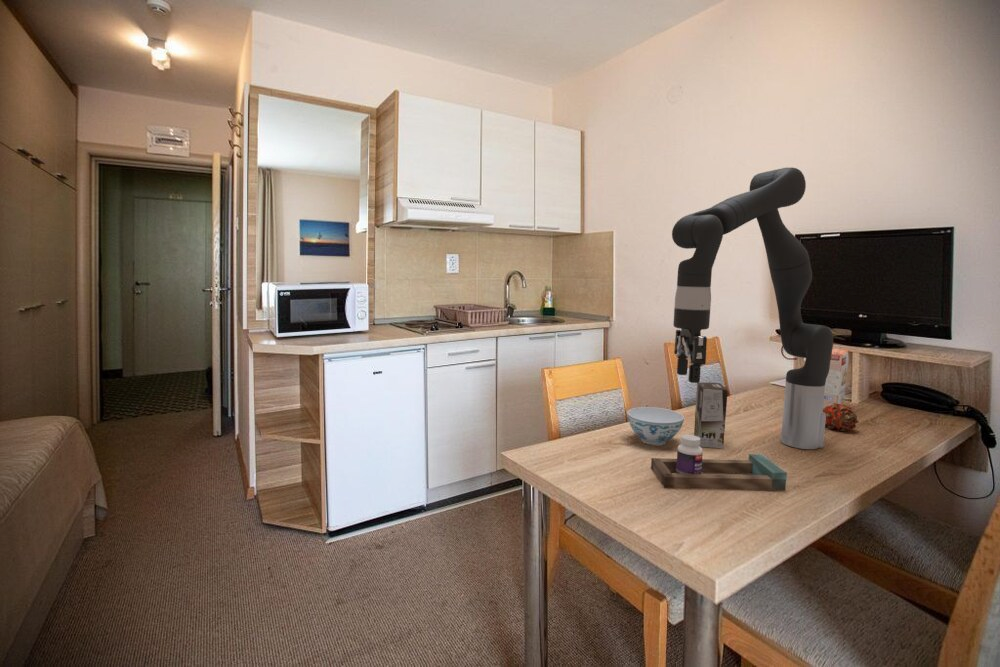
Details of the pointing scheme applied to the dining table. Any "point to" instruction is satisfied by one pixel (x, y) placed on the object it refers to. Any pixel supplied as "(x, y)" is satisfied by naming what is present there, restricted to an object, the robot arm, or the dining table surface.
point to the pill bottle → (689, 455)
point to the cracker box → (836, 377)
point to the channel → (758, 465)
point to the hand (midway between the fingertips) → (687, 378)
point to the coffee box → (710, 414)
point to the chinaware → (655, 424)
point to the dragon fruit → (840, 417)
